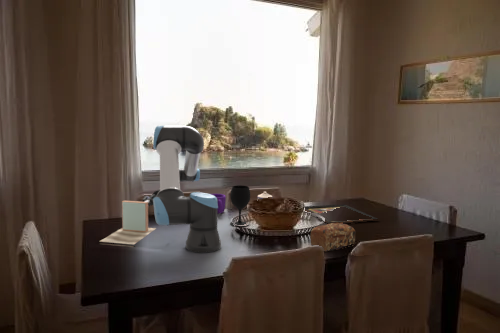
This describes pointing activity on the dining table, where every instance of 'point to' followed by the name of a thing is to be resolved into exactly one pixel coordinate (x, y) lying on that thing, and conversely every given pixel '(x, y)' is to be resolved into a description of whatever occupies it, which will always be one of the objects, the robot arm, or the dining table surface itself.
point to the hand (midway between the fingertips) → (142, 205)
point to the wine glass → (240, 199)
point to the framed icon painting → (330, 208)
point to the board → (126, 237)
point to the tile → (135, 216)
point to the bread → (333, 235)
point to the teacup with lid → (264, 195)
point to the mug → (220, 202)
